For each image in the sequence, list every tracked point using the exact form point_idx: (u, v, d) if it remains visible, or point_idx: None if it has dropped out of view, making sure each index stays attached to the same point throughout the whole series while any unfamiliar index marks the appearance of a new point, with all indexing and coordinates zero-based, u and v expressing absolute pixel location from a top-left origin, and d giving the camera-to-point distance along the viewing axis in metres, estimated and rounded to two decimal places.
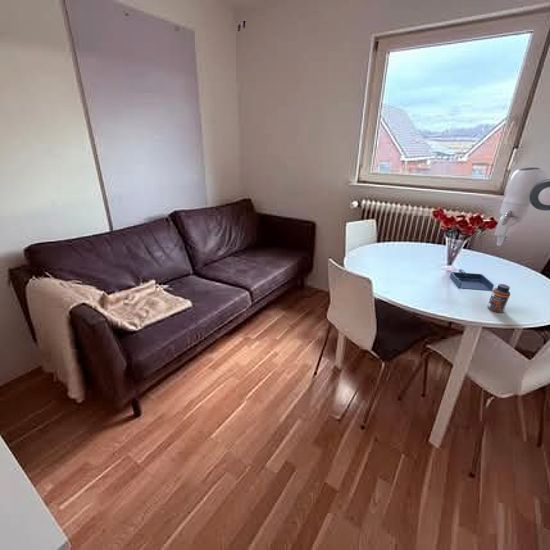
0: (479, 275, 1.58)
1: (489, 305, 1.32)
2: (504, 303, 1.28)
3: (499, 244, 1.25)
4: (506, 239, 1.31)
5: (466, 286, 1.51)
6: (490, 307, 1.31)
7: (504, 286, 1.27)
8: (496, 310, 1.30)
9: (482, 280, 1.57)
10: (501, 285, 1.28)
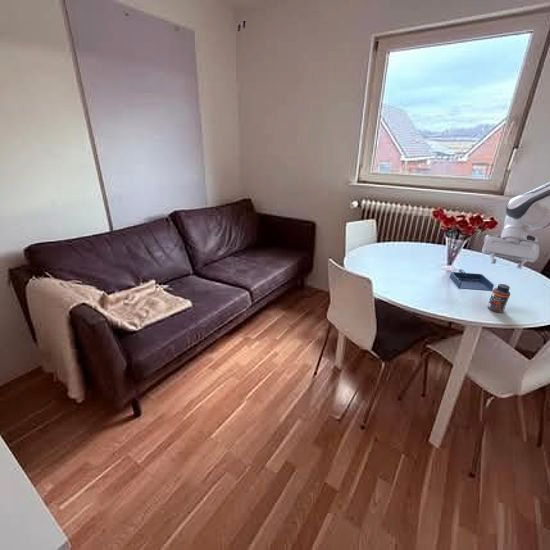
0: (479, 275, 1.58)
1: (489, 305, 1.32)
2: (504, 303, 1.28)
3: (492, 260, 1.38)
4: (518, 265, 1.33)
5: (466, 286, 1.51)
6: (490, 307, 1.31)
7: (504, 286, 1.27)
8: (496, 310, 1.30)
9: (482, 280, 1.57)
10: (501, 285, 1.28)
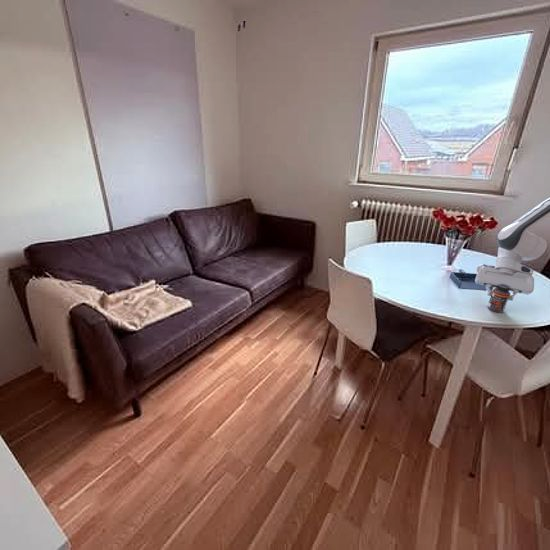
0: None
1: (489, 305, 1.32)
2: (504, 303, 1.28)
3: (488, 293, 1.31)
4: None
5: (466, 286, 1.51)
6: (490, 307, 1.31)
7: (504, 286, 1.27)
8: (496, 310, 1.30)
9: None
10: (501, 285, 1.28)
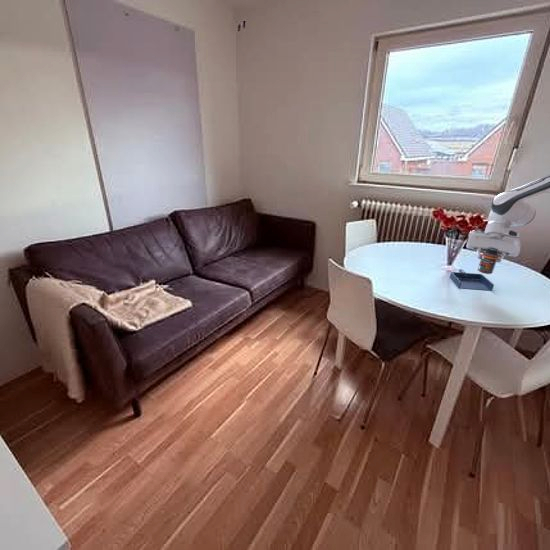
0: (479, 275, 1.58)
1: (479, 267, 1.42)
2: (493, 265, 1.38)
3: (478, 256, 1.41)
4: (497, 259, 1.38)
5: (466, 286, 1.51)
6: (480, 269, 1.41)
7: (493, 249, 1.37)
8: (485, 272, 1.40)
9: (482, 280, 1.57)
10: (490, 248, 1.38)
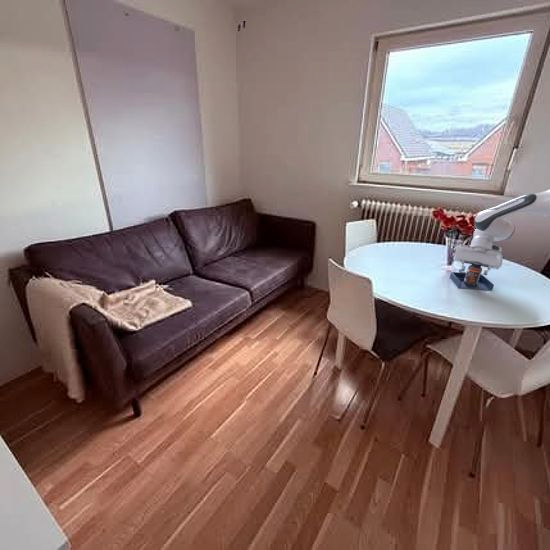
0: None
1: (465, 280, 1.54)
2: (477, 277, 1.50)
3: None
4: (484, 272, 1.50)
5: (466, 286, 1.51)
6: (466, 281, 1.54)
7: (477, 263, 1.50)
8: (470, 284, 1.52)
9: (482, 280, 1.57)
10: (474, 262, 1.50)
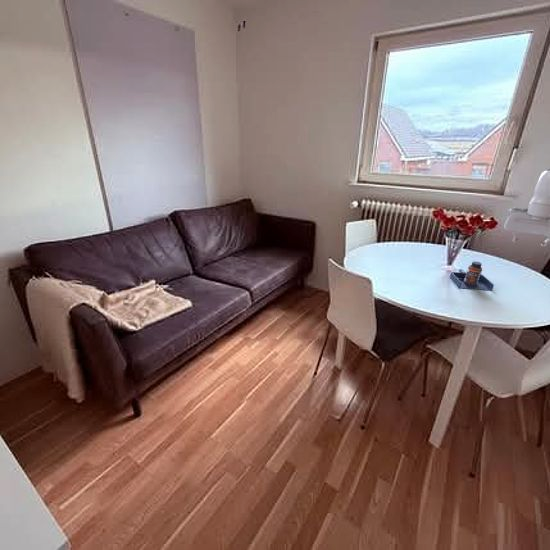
0: None
1: (465, 280, 1.54)
2: (477, 277, 1.50)
3: (513, 239, 1.30)
4: (541, 244, 1.26)
5: (466, 286, 1.51)
6: (466, 281, 1.54)
7: (477, 263, 1.50)
8: (470, 284, 1.52)
9: (482, 280, 1.57)
10: (474, 262, 1.50)
